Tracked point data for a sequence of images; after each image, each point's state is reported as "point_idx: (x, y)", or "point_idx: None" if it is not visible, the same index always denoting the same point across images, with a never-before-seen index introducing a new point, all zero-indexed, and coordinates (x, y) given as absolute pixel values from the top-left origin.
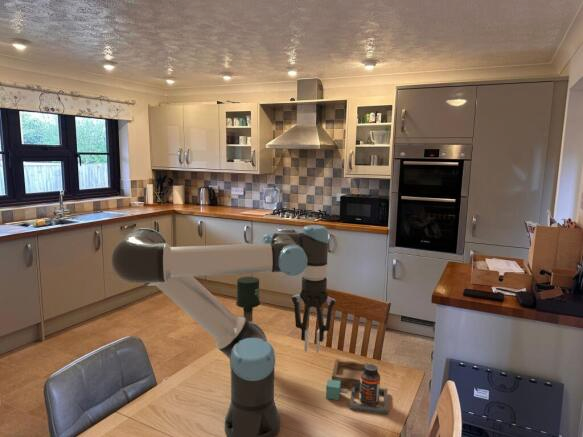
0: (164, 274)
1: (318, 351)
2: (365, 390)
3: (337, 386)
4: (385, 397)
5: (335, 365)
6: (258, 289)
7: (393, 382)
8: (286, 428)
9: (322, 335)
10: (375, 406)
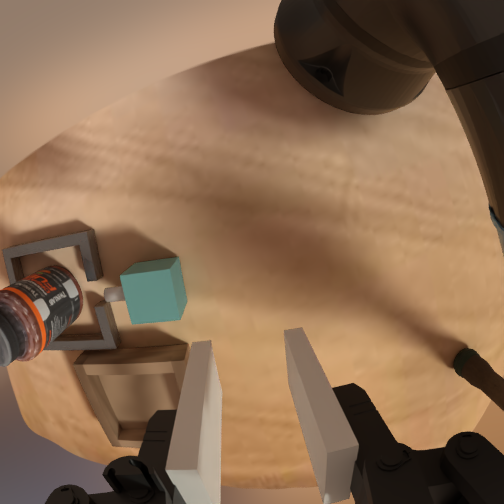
0: None
1: (192, 346)
2: (35, 280)
3: (129, 283)
4: None
5: None
6: None
7: (48, 393)
8: (258, 58)
9: (146, 454)
10: (27, 253)
